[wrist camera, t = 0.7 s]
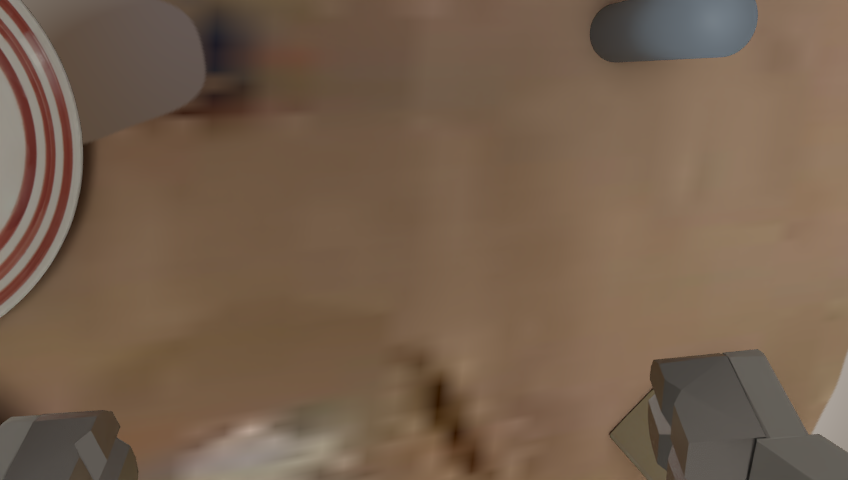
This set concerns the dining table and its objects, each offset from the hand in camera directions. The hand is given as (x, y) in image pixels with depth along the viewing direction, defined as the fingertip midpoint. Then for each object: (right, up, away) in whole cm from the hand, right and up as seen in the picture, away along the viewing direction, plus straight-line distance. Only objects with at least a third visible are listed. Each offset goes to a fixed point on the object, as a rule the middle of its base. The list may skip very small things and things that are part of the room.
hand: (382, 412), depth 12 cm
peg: (+14, +17, +42) cm, 48 cm away
